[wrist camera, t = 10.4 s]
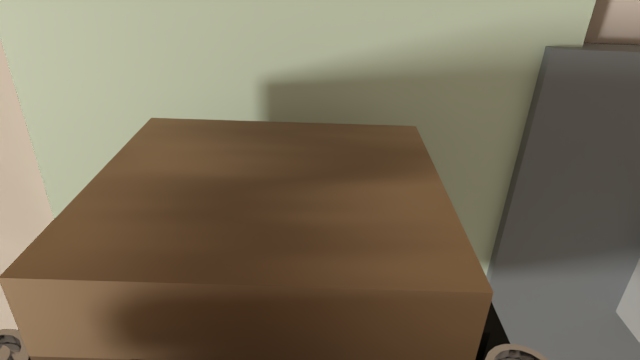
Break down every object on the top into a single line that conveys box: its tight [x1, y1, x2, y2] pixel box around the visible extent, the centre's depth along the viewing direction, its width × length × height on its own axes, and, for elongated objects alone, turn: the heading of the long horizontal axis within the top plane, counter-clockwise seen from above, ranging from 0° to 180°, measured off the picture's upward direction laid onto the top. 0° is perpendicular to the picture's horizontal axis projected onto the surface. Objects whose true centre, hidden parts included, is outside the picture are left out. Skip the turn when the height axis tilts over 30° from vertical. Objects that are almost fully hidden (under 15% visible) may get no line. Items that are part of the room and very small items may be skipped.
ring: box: [0, 118, 494, 360], centre depth 10 cm, size 7×7×6 cm
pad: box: [0, 0, 596, 275], centre depth 15 cm, size 16×16×1 cm
